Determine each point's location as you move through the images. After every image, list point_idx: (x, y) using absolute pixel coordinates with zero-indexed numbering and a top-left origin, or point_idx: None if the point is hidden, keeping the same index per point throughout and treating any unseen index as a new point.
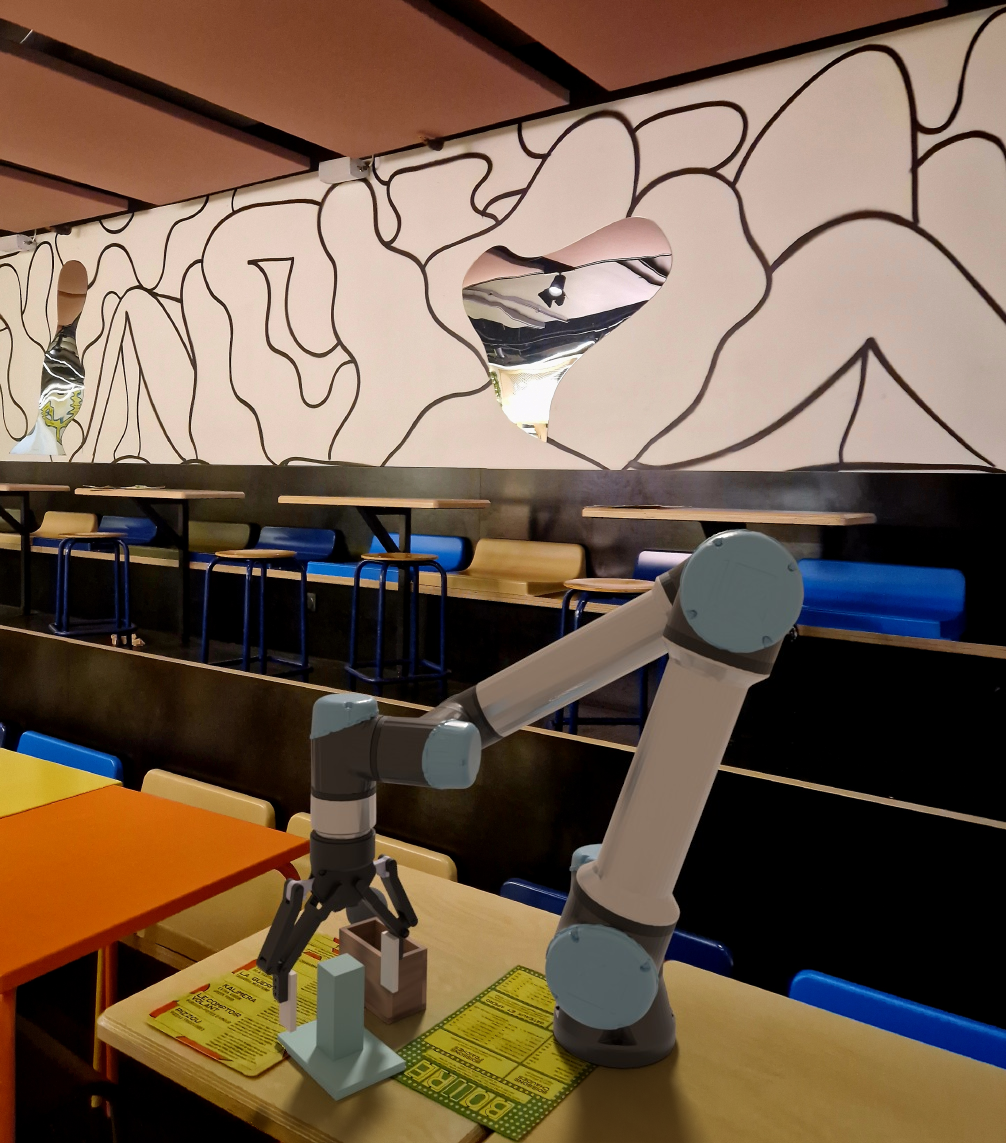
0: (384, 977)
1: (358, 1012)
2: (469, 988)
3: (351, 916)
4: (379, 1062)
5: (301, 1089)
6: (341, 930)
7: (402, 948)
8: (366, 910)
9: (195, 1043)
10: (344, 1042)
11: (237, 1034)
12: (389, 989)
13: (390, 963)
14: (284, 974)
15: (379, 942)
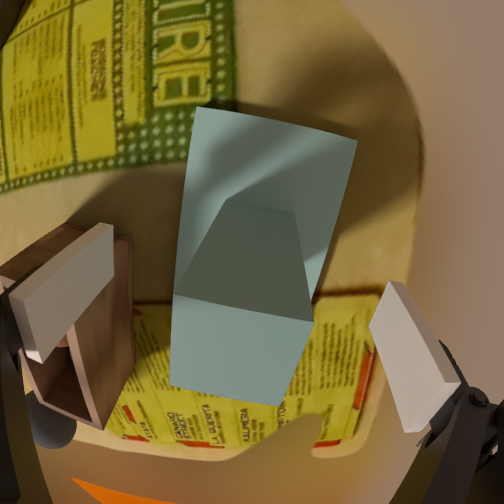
0: (102, 272)
1: (226, 231)
2: (3, 215)
3: (71, 426)
4: (234, 141)
5: (366, 211)
6: (102, 425)
7: (22, 278)
8: (48, 419)
9: (358, 391)
10: (269, 218)
11: (315, 377)
12: (111, 241)
13: (74, 271)
14: (474, 390)
15: (55, 368)
